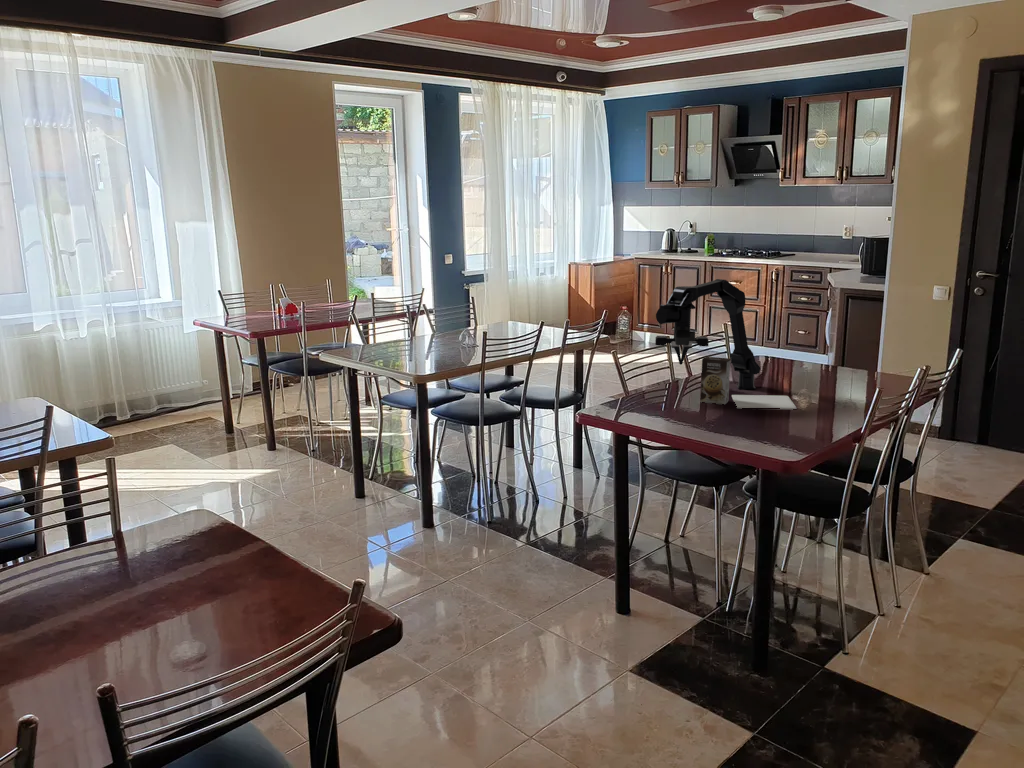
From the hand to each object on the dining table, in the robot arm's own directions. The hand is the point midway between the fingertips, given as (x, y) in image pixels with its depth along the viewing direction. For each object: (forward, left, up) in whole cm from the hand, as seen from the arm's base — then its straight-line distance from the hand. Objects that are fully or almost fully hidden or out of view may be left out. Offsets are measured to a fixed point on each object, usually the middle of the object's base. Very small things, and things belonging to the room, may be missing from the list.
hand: (680, 364), depth 288 cm
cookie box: (+2, +12, -14) cm, 18 cm away
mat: (+2, +29, -13) cm, 32 cm away
